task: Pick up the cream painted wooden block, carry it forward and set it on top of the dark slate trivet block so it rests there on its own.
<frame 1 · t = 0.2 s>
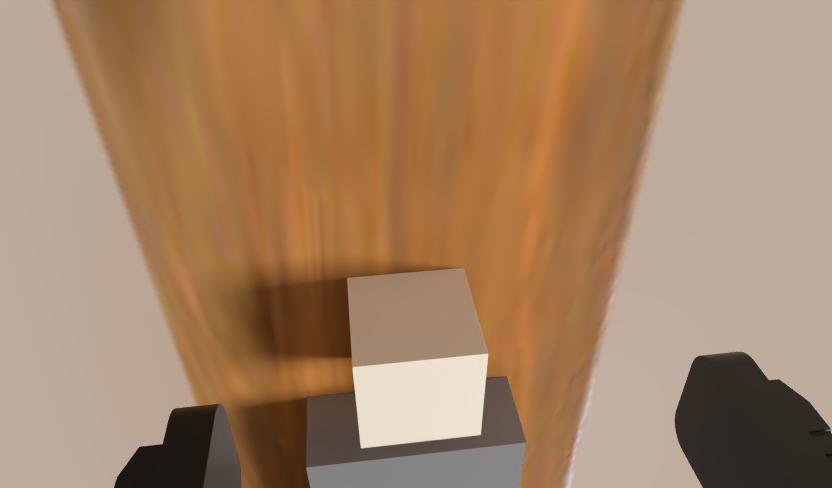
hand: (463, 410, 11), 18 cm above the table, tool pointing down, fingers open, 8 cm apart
slate trivet block: (409, 441, 42), on the table
cream block: (406, 313, 35), on the table
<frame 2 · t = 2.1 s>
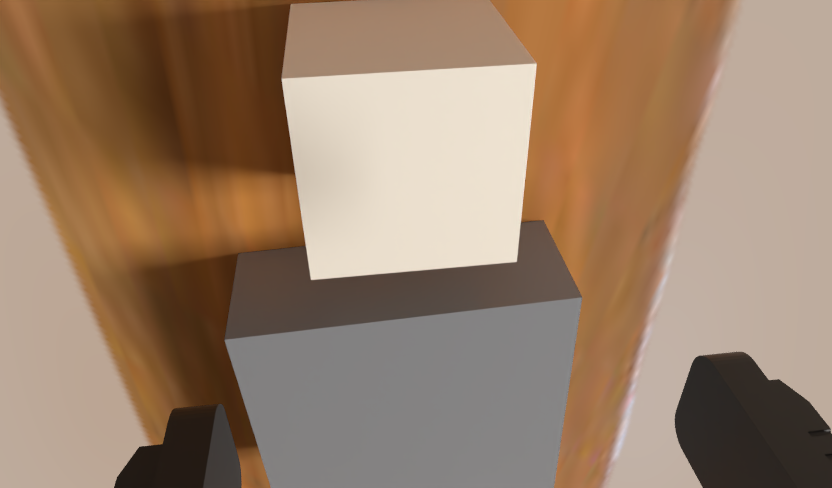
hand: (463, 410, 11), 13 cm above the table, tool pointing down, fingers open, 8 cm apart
slate trivet block: (401, 339, 29), on the table
cream block: (392, 90, 22), on the table
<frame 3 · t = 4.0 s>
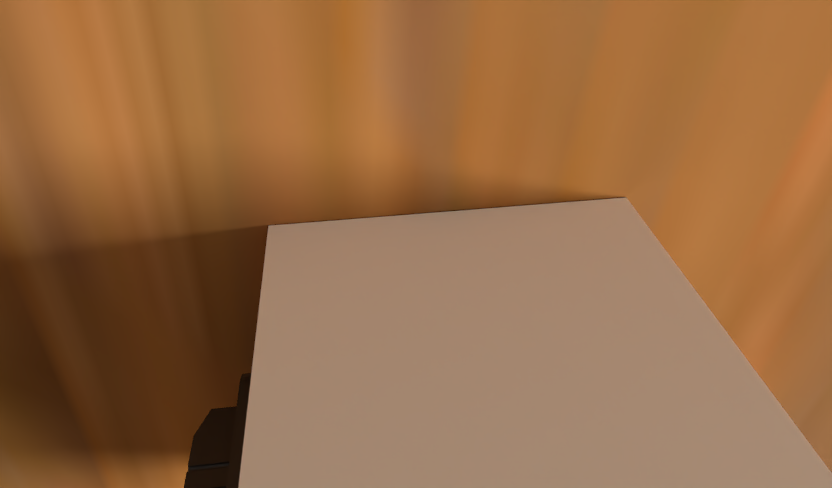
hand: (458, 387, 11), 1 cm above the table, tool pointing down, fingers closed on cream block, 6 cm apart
cream block: (449, 341, 12), on the table, touching gripper
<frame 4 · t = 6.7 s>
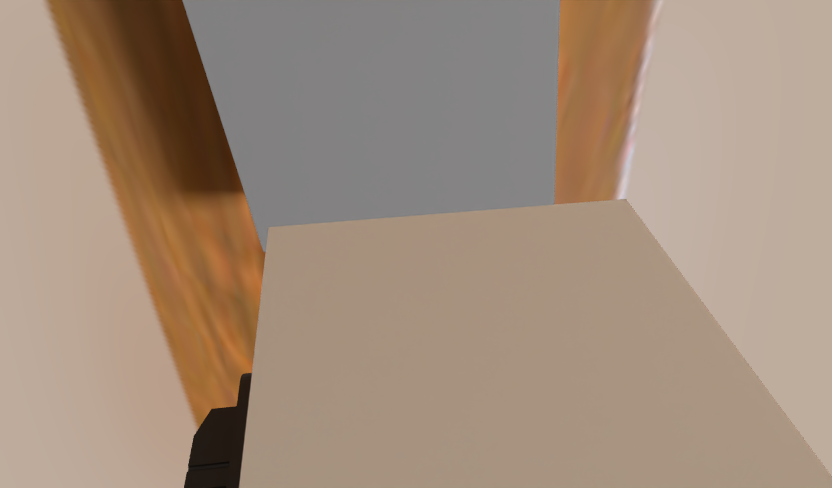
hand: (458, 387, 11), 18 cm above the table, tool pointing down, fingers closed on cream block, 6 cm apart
slate trivet block: (379, 42, 26), on the table
cream block: (448, 343, 12), point 17 cm above the table, touching gripper
when the fingers open (7 cm above the table, at t = 9.7 s): cream block drops 1 cm, point 5 cm above the table.
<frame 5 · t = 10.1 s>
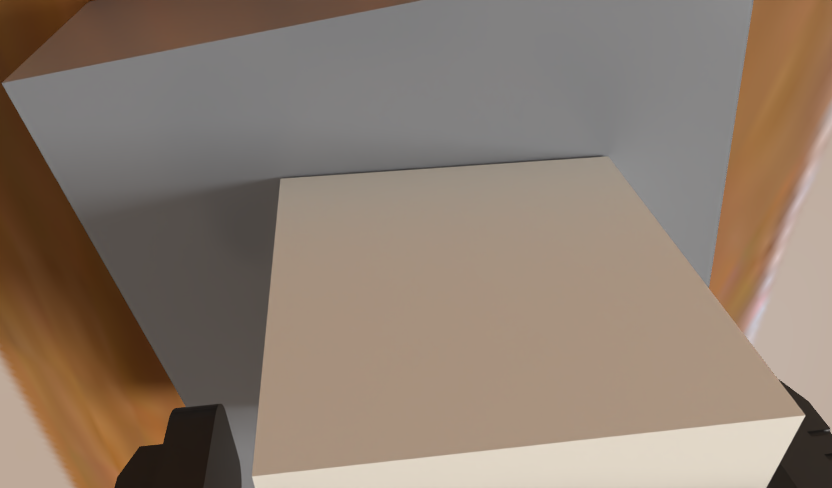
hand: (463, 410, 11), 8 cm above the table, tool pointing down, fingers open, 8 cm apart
slate trivet block: (409, 178, 17), on the table
cream block: (445, 293, 13), point 5 cm above the table
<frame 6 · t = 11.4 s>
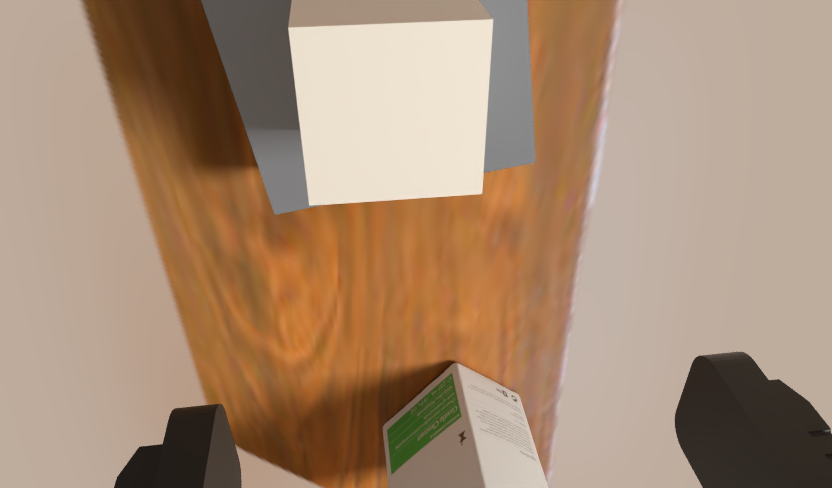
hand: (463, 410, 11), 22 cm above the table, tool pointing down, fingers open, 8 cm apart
slate trivet block: (372, 23, 29), on the table
skincare box: (450, 409, 45), on the table
cream block: (380, 56, 25), point 5 cm above the table
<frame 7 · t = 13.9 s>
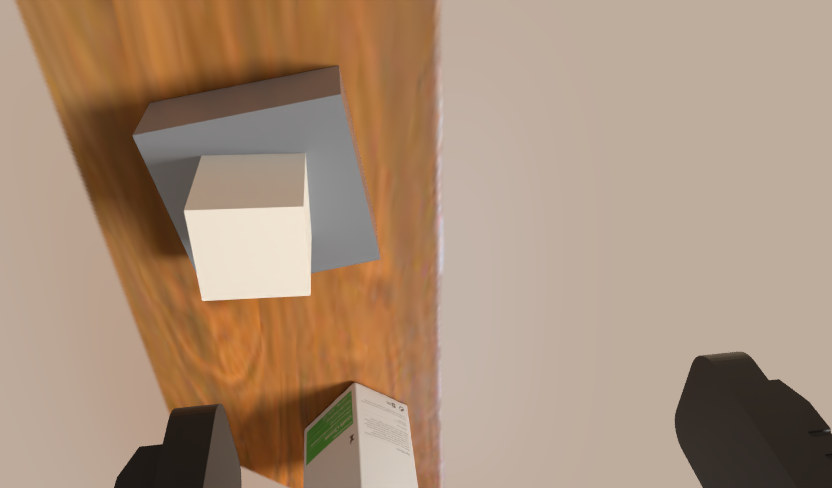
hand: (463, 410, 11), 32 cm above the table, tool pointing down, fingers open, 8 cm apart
slate trivet block: (272, 164, 44), on the table, touching cream block
skincare box: (356, 416, 60), on the table
cream block: (259, 197, 39), point 5 cm above the table, touching slate trivet block
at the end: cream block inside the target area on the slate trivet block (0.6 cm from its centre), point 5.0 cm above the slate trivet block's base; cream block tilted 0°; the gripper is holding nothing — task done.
